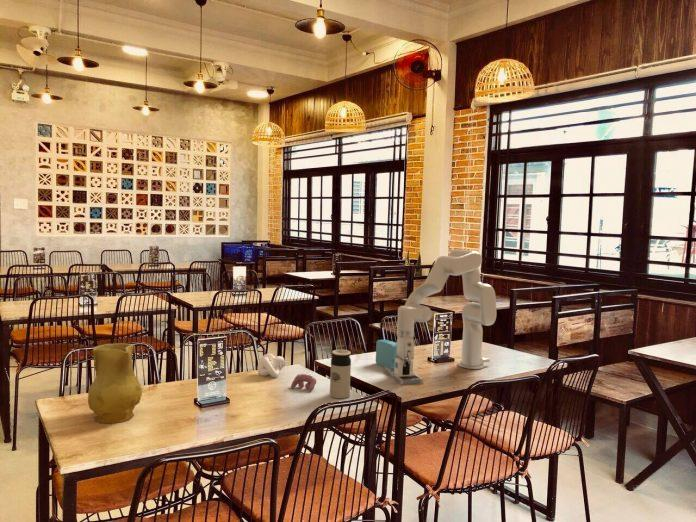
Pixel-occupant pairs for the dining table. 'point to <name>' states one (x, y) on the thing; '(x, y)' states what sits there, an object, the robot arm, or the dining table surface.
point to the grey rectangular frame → (416, 379)
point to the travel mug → (340, 374)
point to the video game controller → (304, 378)
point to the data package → (386, 353)
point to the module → (401, 367)
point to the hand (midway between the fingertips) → (403, 372)
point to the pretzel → (270, 365)
